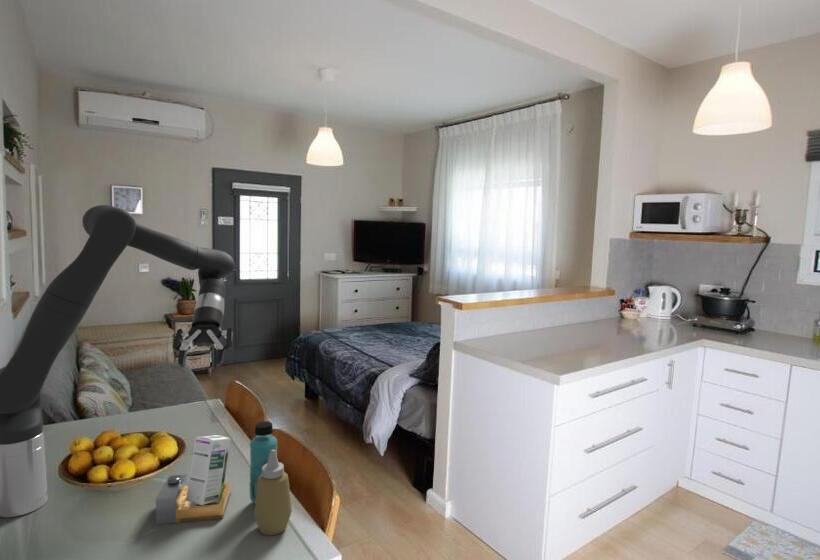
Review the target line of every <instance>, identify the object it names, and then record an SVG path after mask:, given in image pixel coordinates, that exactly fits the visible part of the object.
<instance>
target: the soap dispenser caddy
mask: <svg viewBox="0 0 820 560" xmlns="http://www.w3.org/2000/svg"><path fill="white" fill-rule="evenodd" d="M231 486H232V484H231V482H224V488H223V494H222V497H221V500H220V501H217V502H213V503H208V504H205V505H199V504H195V503H192V502H189V501H187V500H186V497H187V491H188V473H187V474H172V475H168V477H167V479H166V481H165V482H164V484H163V486H162V488H161V489H160V491H159V493H158V494H157V496H156V498H155V519H156V523H155V524H156V525H167V524H168V525H169V524H177V523H190V522H200V521H202V522H203V521H212V520H214V521H215V520H222V519H224V517H225V514H226V511H227V507H228V504H229V501H230V498H231V495H232V492H231V491H232V487H231Z"/></svg>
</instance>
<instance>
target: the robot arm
mask: <svg viewBox="0 0 820 560" xmlns="http://www.w3.org/2000/svg"><path fill="white" fill-rule="evenodd" d="M81 221H82V226H83V229H84V231H85V232H86V234H87V235H88V236H89V237H88V239H87V240H86V242H85V244H84V246H83V247H82V250H81V251H80V252H79V254H78V255H77V257H76V258H75V259H74V260H73V261H72V262H71V263H70V264H69V265H68V266H66V267H65V268H64V269H63V270H62V271H61V272H60V273H59V274H57V276H55V278H53V280H52V281H51V282H50V283H49V285H48V286H47V288H46V289H45V291H44V292H43V294H42V296H41V297H40V299H39V300H38V302H37V304H36V306H35V308H34V309H33V312H32V313H31V316H30V318H29V320H28V323H27V325H26V327H25V331H24V333H23V337H22V339H21V341H20V343H19V346H18V348H17V350H16V351H15V353H14V354H13V356H12V357H11V358H10V360H9V361H8V363H7V364H6V365H5V366H4V367H1V368H0V517H1V518H15V517H20V516H23V515H27V514H29V513H33V512H34V511H36V510H38V509H40V508H41V507H43V506H44V505H45V504H46V503H47V501H48V488H47V483H48V482H47V470H46V454H45V438H44V423H43V410H42V396H41V394H42V393H41V392H42V389H43V386H44V384H45V382H46V379H47V378H48V375H49V373H50V371H51V369H52V367H53V364H54V363H55V361H56V359H57V357H58V355H59V354H60V353H61V351H62V350H63V349H64V347H65V346H66V344H67V343H68V342H69V340H70V338H71V337H72V335H73V334H74V332H75V331H76V329H77V327H78V326H79V325H80V323H81V321H82V320H83V318H84V316H85V315H86V313H87V311H88V309H89V308H90V306H91V304H92V302H93V300H94V299H95V296H96V295H97V293H98V291H99V289H100V288H101V287H102V284H103V283H104V282H105V279H106V277H107V275H108V273H109V272H110V270H111V268H112V267H113V266H114V264H115V262H116V261H117V260H118V259H119V257H120V256H121V255H122V253H123V252H124V251H125V249H126V247H130V248H134V249H137V250H139V251H142V252H144V253H147V254H149V255H151V256H153V257H156V258H158V259H160V260H162V261H166V262H168V263H169V264H172V265H174V266H177V267H181V268H183V269H186V270H189V271H196V270H198V272H197V276H198V284H199V290H198V295H197V299H196V302H195V305H194V310H193V316H192V320H191V327H190V328H189V330H183V329H182V328H178V329H177V330H176V333H175V336H174V337H175V338H174V341H173V344H172V349H173V351H174V353H175V354H178V357H177V363H178V365H179V366H180V367H181V368H185V367H186V361H187V354H188V353H189V352H190V351H191V350H192V351H193V350H194V348H196V347H198V348H199V347H200V348H201V347H208V348H209V347H211V346H213V347H214V348H215V349H216V357H215V365H216V367H220V366H221V365H222V364H223V362H224V356H225V353H227V352H228V353H231V352H232V351H233V343H234V342H233V341H234V336H233V335H234V333H233V329H232V327H231V328H230V327H229V328H227V329H225V330H222V327H223V320H224V315H225V300H226V293H227V292H226V291H227V287H226V286H227V285H226V283H225V282H224V281H223V280H221V279H223V278H225V277H227V276H228V275H230V274H232V273H233V272H234V270H235V268H236V263H235V260H234V258H233V257H232V256H231V255H230V254H228V253H227V252H226V251H223V250H219V249H215V248H209V247H200V246H198V245H196V244H195V245H194V243H193V244H192V243H191V242H188V241H186V240H183V239H181V238H179V237H176V236H173V235H169V234H165V233H162V232H161V231H158V230H154V229H152V228H150V227H147V226H145V225H142V224H141V223H138V222H136V219H135V217H134V216H133V215H132V214H131V213H130V212H129V211H127V210H125V209H123V208H119V207H116V206H114V205H113V206H112V205H107V204H100V205H95V206H92V207H89V208H88V210H86V212H85V213H84V215H83V216H82V220H81ZM222 336H223V337H224V339H226V343H225V345H223V344H222V343H221V342H220V339H221V338H222ZM187 337H188V338H187ZM186 338H187V339H186ZM184 340H185V342H184V343H183V341H184Z"/></svg>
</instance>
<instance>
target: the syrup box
mask: <svg viewBox="0 0 820 560" xmlns="http://www.w3.org/2000/svg"><path fill="white" fill-rule="evenodd" d="M230 443H231V437H229V436H226V435H225V436H224V435H218V434H217V435H216V434H215V435H214V434H213V435H207V436H196V437H195V440H194V444H193V453H192V457H191V458H192V459H191V466H190V470H189V471H190V472H189V478H188V479H189V480H188V483H187V486H188V491H187V497H186V500H187V501H189V502H192V503H195V504H199V505H205V504H208V503H213V502H217V501H220V500H221V497H222V494H223V488H224V483H225V480H226V472H227V466H228V460H229V459H228V457H229V453H230V452H229V451H230V445H231V444H230Z"/></svg>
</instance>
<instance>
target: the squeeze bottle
mask: <svg viewBox="0 0 820 560" xmlns="http://www.w3.org/2000/svg"><path fill="white" fill-rule="evenodd" d="M291 499H292V498H291V489H290V482H289V475H288V473H287V472H285V465H284V463H282V462H279V460H278V453H277V454H276V450H270V454H269V458H268V463H266V464H265V465H263V467H262V475H260V476H259V478H258V481H257V491H256V501H255V503H254V504H255V505H254V512H253V513H254V514H253V515H254V520H255V522H256V524H257V527H258V530H259V532H260V533H262V534H263V535H265V536H274V535H279V534H281V533H283V531H285V530H286V529H287V526H288V523H289V520H290V518H291V515H292V511H293V510H292V509H293V507H292V500H291Z"/></svg>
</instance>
